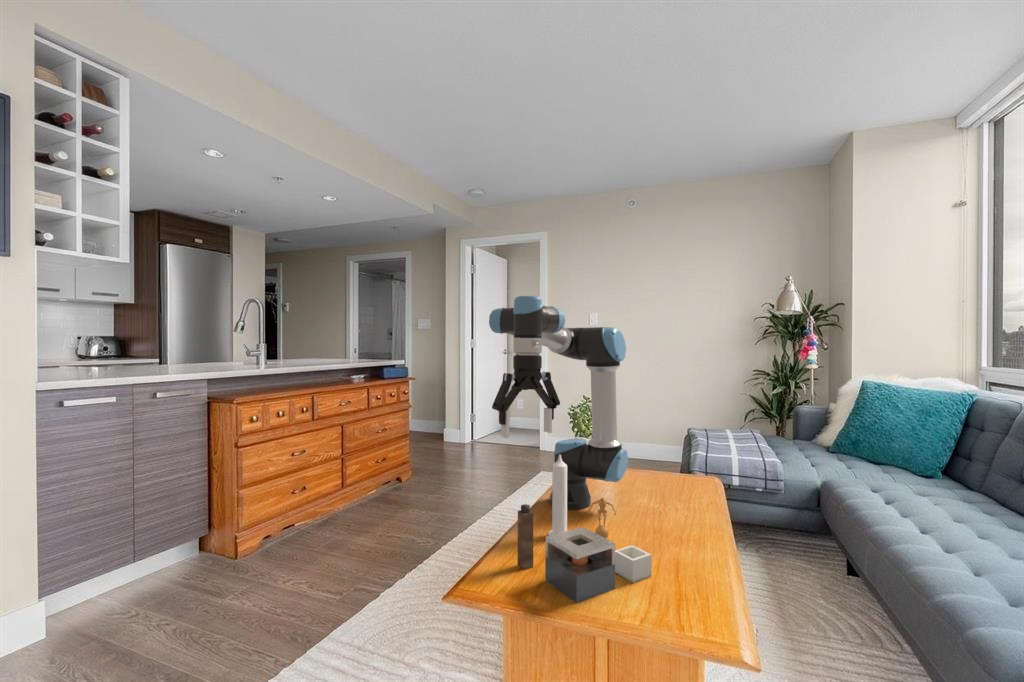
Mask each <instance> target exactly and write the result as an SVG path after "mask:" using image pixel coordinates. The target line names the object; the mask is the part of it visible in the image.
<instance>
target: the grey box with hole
mask: <svg viewBox="0 0 1024 682" xmlns="http://www.w3.org/2000/svg"><path fill="white" fill-rule="evenodd" d="M578 545H580V546H578ZM615 550H616V542H614V541H612V540H610V539H608V538H604V537H602V536H600V535H598V534H596V533H595V531H592V530H590V529H588V528H586V527H584V526H581V527H577V528H573V529H569V530H567V531H565V532H561V533H557V534H553V535H550V536H548V535H546V536H545V563H544V564H545V571H544V572H545V579H544V580H545V582H546V583H547V584H549V585H551V586H552V588H555V589H556V590H558V591H559V592H560V593H562V594H563V595H564V596H566V597H568V599H570V600H572V602H574V603H576V604H578V603H581V602H583V601H586V600H589V599H591V598H592V599H593V598H594V597H597V596H599V595H602V594H605V593H608V592H610V591H613V590H615V589H616V573H615ZM586 556H588V564H586V565H583V566H580V567H578V566H576V565H575V564H573V563H572V557H574V558H575V559H579V558H582V557H586Z"/></svg>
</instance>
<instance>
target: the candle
mask: <svg viewBox="0 0 1024 682" xmlns="http://www.w3.org/2000/svg"><path fill="white" fill-rule="evenodd" d="M551 480H552V484H551V485H552V489H551V492H552V504H551V507H552V509H551V510H552V515H551V516H552V518H551V521H552V522H551V524H552V525H551V527H552V529H551V530H549V531H548V532H547V536H550V535H553V534H557V533H561V532H565V531H568V509H567V465H566V464H565V463H564V462H563V461H562V458H561V455H560V454H559V457H558V460H557V462H556V463H555V462H553V464H552V479H551Z"/></svg>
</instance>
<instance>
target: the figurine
mask: <svg viewBox="0 0 1024 682" xmlns="http://www.w3.org/2000/svg"><path fill="white" fill-rule="evenodd" d="M596 504H598V506H599V509H597V520H598V526H597V527H596V528H595V530H594V533H596V534H598V535H600V536H602V537H604V538H606V539H608V537H609V530H608V528H607V527H606V520H607V512H608V511H607V509H606V506H607V505H609V506H610V507H611V508H612V510H613V512H614V513H613V514H614V516H617V511H616V510H615V508H614V504H612V503H611V502H610V501H608V500H606V499H605V497H601V498H599V499H598V500H596V501H594V502H593V501H592V502H591V505H590V507H589V509H588V512H587V513H588V514H590V513H591V510H592V508H593V506H594V505H596ZM601 516H602V517H603V525H601V524H602V523H601V522H602V521H601Z"/></svg>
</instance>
